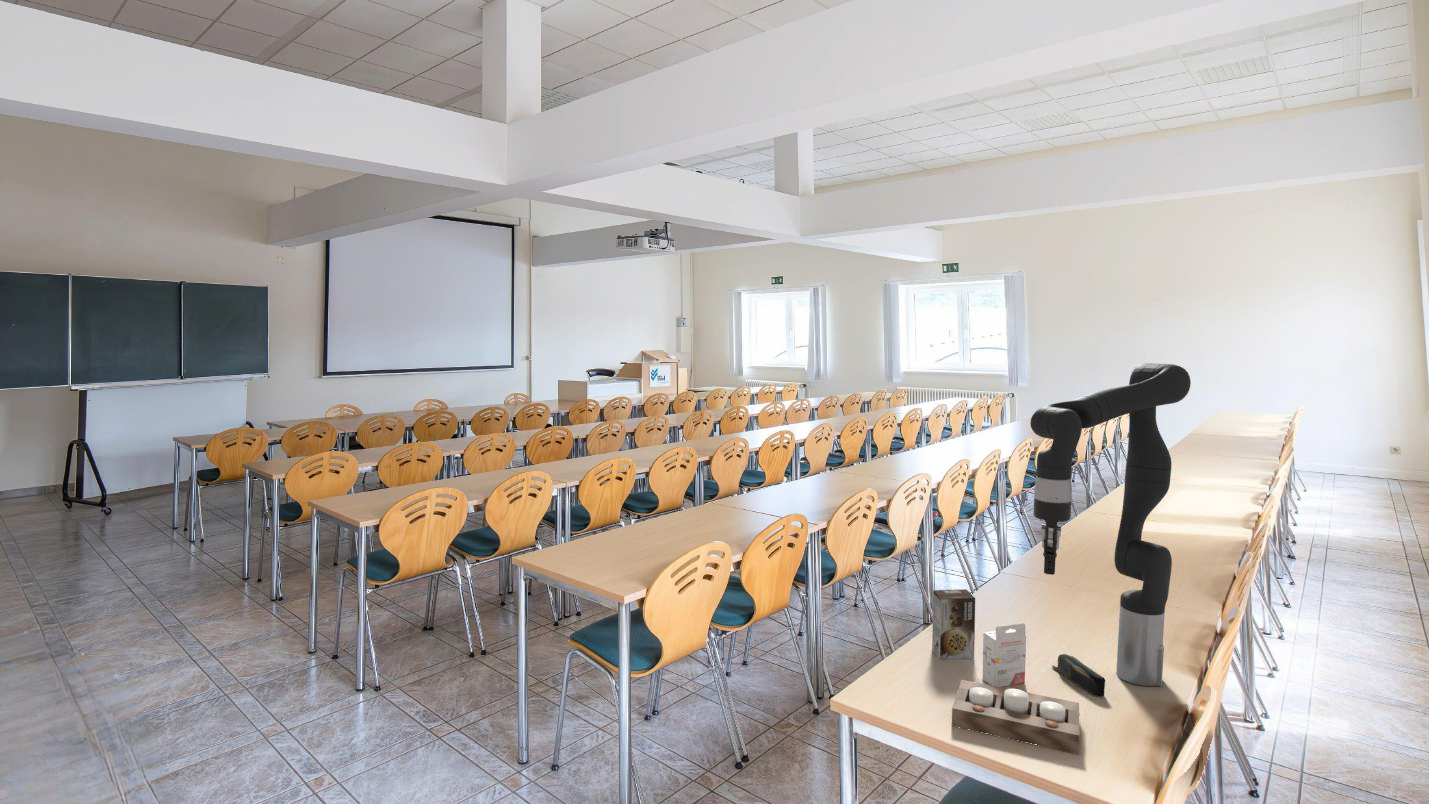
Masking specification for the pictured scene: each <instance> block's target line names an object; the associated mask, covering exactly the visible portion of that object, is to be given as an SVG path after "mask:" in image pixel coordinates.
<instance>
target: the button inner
mask: <svg viewBox="0 0 1429 804" xmlns="http://www.w3.org/2000/svg"><path fill="white" fill-rule="evenodd" d="M1040 717H1041V718H1046V719H1050V720H1055V721H1060V722H1065V707H1064V706H1062V705H1061V704H1058V703H1056V702H1051V701H1045V702H1042V703H1040Z"/></svg>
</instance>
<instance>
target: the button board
mask: <svg viewBox="0 0 1429 804" xmlns="http://www.w3.org/2000/svg"><path fill="white" fill-rule="evenodd" d="M974 687H981V688H986V689H988V690H990V691H991V692H992V693H993V707H989V706H984V705H979V704H974V703H969V693H970V689H971V688H974ZM1007 689H1008V688H1005V687H996V686H992V685H990V684H985V683H981V682H975V681H971V680H966V679H961V680H960V683H959V686H958V688H957V692H956V695H955V697H954V698H955V699H954V701H953V704H952V708H951V709H952V710H951V727H953V726H954V727H955V728H958V727H960V728H959V729H962V728H964V729H963V730H967V729H970V730H969V731H971V730H973V731H972V732H975V731H978V732H977V733H980V732H983V733H982V734H984V733H988V734H987V735H989V734H992V735H991V736H993V735H995V736H994V737H998V736H1000V737H999V738H1002V737H1003V739H1006V738H1009V739H1008V740H1011V739H1014V740H1013V741H1015V740H1019V741H1018V742H1020V741H1023V742H1022V743H1024V742H1028V743H1027V744H1029V743H1032V744H1031V745H1033V744H1037V745H1036V746H1038V745H1039V746H1038V747H1042V746H1043V747H1042V748H1046V749H1047V748H1048V749H1051V750H1056V751H1059V752H1065V753H1069V754H1074V755H1078V756H1079V754H1080V753H1079V751H1080V749H1079V748H1080V702H1076V701H1071V700H1066V699H1061V698H1056V697H1051V696H1046V695H1041V694H1036V693H1031V692H1026V691H1025V692H1026V693H1027V694H1028V695H1029V705H1028V715H1027V714H1022V713H1017V712H1012V711H1008V710H1004V691H1005V690H1007ZM1045 701H1051V702H1056V703H1058V704H1061V705H1062V706H1064V707H1065V722H1060V721H1055V720H1050V719H1046V718H1041V717H1040V703H1042V702H1045Z"/></svg>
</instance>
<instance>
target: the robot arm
mask: <svg viewBox="0 0 1429 804" xmlns="http://www.w3.org/2000/svg"><path fill="white" fill-rule="evenodd" d="M1190 388H1191V376H1190V374H1189V372H1188V371H1187V370H1186V368H1184V367H1182V366H1180V365H1176V364H1173V363H1152V362H1151V363H1150V362H1148V363H1147V362H1144V363H1140V364H1138V365H1137V366H1136V367H1134V369H1133V370H1132V372H1131V374H1130V377H1129V383H1128V385H1123V386H1115V387H1110V388H1105V389H1101V390H1097V391H1094V392H1093V391H1092V392H1091V393H1088V394H1085V395H1083V396H1081V397H1078V398H1076V399H1071V400H1064V401H1060V402H1055V403H1051V404H1047V405H1044V406H1042V407H1039V408H1038V409H1037V410H1035V412H1034V413H1033V414H1032V416H1031V418H1030V428H1031V430H1032V431H1033V433H1034V434H1035V435H1037V436H1039V437H1041V438H1043V439H1049V440H1052V443H1051V446H1050V448H1048V449H1042V450H1040V451H1039V452H1038V454H1037V457H1036V470H1035V471H1036V474H1035V475H1036V477H1035V482H1034V489H1033V490H1034V492H1033V494H1034V495H1033V498H1034V499H1033V517H1035V518H1036V519H1038V520H1040V521H1044V522H1045V524H1044V523H1042V524H1041V529H1040V531H1041V533H1040V535H1041V536H1042V537H1041V538H1042V539H1041V547H1042V549H1043V553H1042V554H1043V558H1044V562H1043V573H1044V574H1046V575H1052V576H1054V575H1055V573H1056V560H1057V557H1058V553H1057V551H1058V549H1059V548H1060V537H1062V536H1061V535H1062V526H1061V525H1058V523H1059V522H1061V523H1063V522H1064V523H1065V522H1068V521H1070V519H1071V517H1072V497H1073V496H1072V495H1073V494H1072V493H1073V488H1072V487H1073V486H1072V466H1073V465H1072V463H1073V458H1074V456H1075V453H1076V450H1077V446H1078V444H1079V442H1080V439H1081V435H1082V430H1083V429H1089V428H1094V427H1095V426H1097V425H1100V424H1103V423H1105V422H1108V421H1111V420H1113V419H1117V418H1119V417H1122V416H1125V415H1128V414H1129V415H1128V418H1129V419H1128V420H1129V421H1128V423H1129V425H1128V426H1129V427H1128V440H1127V441H1128V443H1127V454H1126V461H1125V469H1124V470H1125V471H1124V472H1125V473H1124V489H1123V491H1124V492H1123V500H1122V510H1121V517H1120V522H1119V528H1118V533H1117V538H1116V544H1115V549H1114V560H1113V561H1114V566H1115V569H1116V571H1117V572H1118V573H1119V574H1121V575H1122V576H1125V577H1129V578H1131V579H1135V580H1138V581H1141V582H1142V588H1141V589H1131V590H1126V591H1124V592H1122V593H1121V595H1120V599H1119V600H1120V602H1119V619H1118V634H1117V637H1118V638H1117V652H1116V653H1117V654H1116V665H1115V666H1116V671H1115V672H1116V675H1117V677H1118V678H1120V679H1121V680H1123V681H1124V682H1127V683H1130V684H1133V685H1137V686H1143V687H1144V686H1145V687H1155V686H1158V687H1163V686H1162V685H1163V672H1164V671H1163V670H1164V655H1165V654H1164V653H1165V652H1164V651H1165V646H1164V631H1165V630H1164V629H1165V613H1166V604H1167V602H1168V598H1169V593H1170V582H1171V576H1172V575H1171V574H1172V569H1173V568H1172V567H1173V566H1172V565H1173V561H1172V554H1171V552H1170V550H1169V549H1168V548H1167V547H1166V546H1163V545H1160V544H1157V543H1153V542H1149V541H1145V540H1142V535H1143V529H1144V525H1145V521H1146V520H1147V518H1148V517H1149V515H1150V513H1152V512H1153V510H1154V509H1155V508H1156V507H1157V506H1158V504H1160V502H1162V500H1163V499H1164V497H1165V496H1166V495H1167V494H1168V492H1169V489H1170V484H1171V475H1172V457H1171V454H1170V452H1169V449H1168V447H1167V444H1166V443H1165V441H1164V438H1163V436H1162V435H1161V433H1160V430H1159V427H1158V423H1157V407H1160V406H1165V405H1171V404H1176V403H1179V402H1180V401H1182V400H1183V399H1185V397H1187V395H1188V393H1189V392H1190Z"/></svg>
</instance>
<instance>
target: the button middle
mask: <svg viewBox="0 0 1429 804" xmlns="http://www.w3.org/2000/svg"><path fill="white" fill-rule="evenodd" d="M1006 689H1007V690H1005V691H1004V710H1008V711H1012V712H1017V713H1022V714H1027V715H1028V705H1029V695H1028V694H1027V693H1028V692H1027V693H1026V691H1024V690H1022V689H1018V688H1006Z"/></svg>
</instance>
